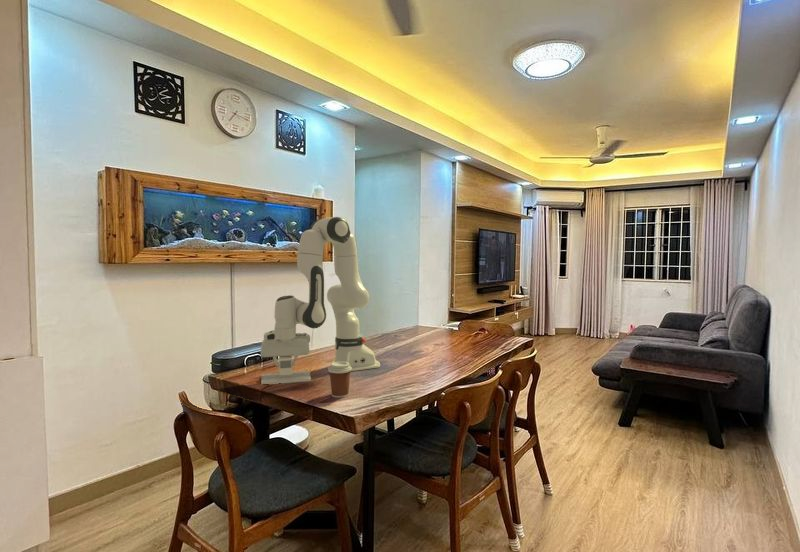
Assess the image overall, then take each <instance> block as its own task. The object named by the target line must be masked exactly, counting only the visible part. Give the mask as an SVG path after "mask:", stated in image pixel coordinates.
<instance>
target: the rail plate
mask: <svg viewBox="0 0 800 552" xmlns="http://www.w3.org/2000/svg"><path fill="white" fill-rule="evenodd" d="M260 380H261V382H260V383H261V386H263V385H262V384H269V385H278V384H279V383H281V384H291V383H292V384H293V383H302V382H303V383H304V382H312V378H311V371H310V370H302V371H301V370H299V371H292V375H279V372H274V373H273V372H271V373H261V379H260Z"/></svg>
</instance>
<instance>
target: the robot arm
mask: <svg viewBox="0 0 800 552" xmlns="http://www.w3.org/2000/svg"><path fill="white" fill-rule="evenodd" d="M327 243H331V245H332V246H333V262H334V263H333V265H334V274H335V275H336V276H337V278H338V279H339V282H340V284H335V285H332V286H330V288H328V290H327V292H326V298H327V299H326V300H327V301H328V303H329V304H330V305H331V309H332V311H333V314H334V318H335V335H336V336H335V339H334V348H335V354H334V355H335V356H334V360H333V362H348V363H349V365H350V367H352V371H351V372H355V371H363V370H369V369H377V368H380V367H381V363H380V361H378V360H377V359H376V356H375V355H376V354H375V353H374V351H373V350H372V349H371V348H370V347H368V346H366V342H367V340H366V338H363V337H362V336H360V319H359V318H358V317H357V315H356V313H355V310H359V309H365V307H367V306H368V305H369V302H370V293H369V292H368V289H366V288H365V286H364V284H363V282H362V279H361V275H360V273H359V261H358V260H359V259H358V248H357V243H356V238H355V236H354V234H352V233H351V230H350V226H349V223H348V221H347V220H346V219H344V218H343V217H340V216H335V217H334V216H333V217H332V216H331V217H330V216H329V217H325V218H320V219H316V220H314V221H313V223H312V224H311V225H310V227H309V229H307V230H304V231H303V232H302V234H301V236H300V239H299V243H298V248H297V258H296V265H297V269H298V270H299V272H300V273H301V274H302V275H304V277H305V278H306V280H307V281H308V302H306V301H302V300H301V299H299V298H296V297H295V296H294V295H283V296H280V297H278V298H276V301H275V304H274V320H275V322H274V329H272V330H269V331H266V332H265V333H264V334H263V340H262V342H261V346H260V356H261V358H270V357H271V358H272V360H273V362H274V363H275V367H276V368H277V367H278V368H279V361H278V360H277V357H279V356H293V357H294V359H292V367H295V365H296V361H297V359H298V357H299V356H306V355H309V354H310V342H311V336H310V334H308V333H306V332H303V333H299V332H298V333H297V324H300V325H303V326H306V327H307V328H311V329H318V328H320V327H321V326H322V325H324V323H325V321H326V320H327V311H326V308H325V275H324V270H323V265H324V264H323V258H324V249H325V246H326V244H327Z"/></svg>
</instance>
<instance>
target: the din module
mask: <svg viewBox="0 0 800 552" xmlns="http://www.w3.org/2000/svg"><path fill="white" fill-rule="evenodd" d="M292 361H293V357H292V356H278V362H279V367H278V371H279V372H278V373H279V375H292V372H293V366H292Z"/></svg>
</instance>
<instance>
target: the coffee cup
mask: <svg viewBox="0 0 800 552" xmlns="http://www.w3.org/2000/svg"><path fill="white" fill-rule="evenodd" d="M327 371H328V372H329V380H330V391H331V397H333V398H336V399H337V398H340V399H342V398H346V397H348V396H349V393H350V380H351V379H350V376H351V372H353V371H352V367H350V365H349V363H348V362H334V361H333V362H332V363H330V366H329V367H327Z"/></svg>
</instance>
